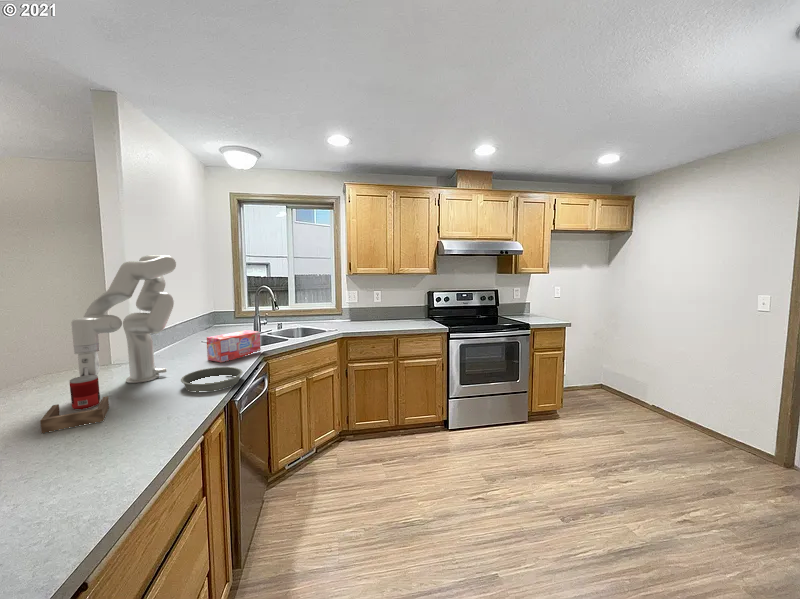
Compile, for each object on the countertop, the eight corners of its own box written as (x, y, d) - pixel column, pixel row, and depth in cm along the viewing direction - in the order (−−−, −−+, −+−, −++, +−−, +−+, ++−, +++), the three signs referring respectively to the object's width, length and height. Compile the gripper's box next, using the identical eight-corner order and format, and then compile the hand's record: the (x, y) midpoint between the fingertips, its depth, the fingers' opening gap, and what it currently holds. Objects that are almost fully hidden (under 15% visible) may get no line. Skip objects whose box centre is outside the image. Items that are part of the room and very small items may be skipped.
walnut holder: (109, 407, 128) (108, 396, 128) (103, 421, 117) (102, 409, 116) (54, 417, 120) (52, 405, 119) (41, 433, 108) (40, 420, 108)
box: (247, 350, 215) (246, 328, 213) (261, 352, 209) (260, 330, 207) (206, 360, 191) (205, 336, 190) (220, 363, 185) (219, 339, 184)
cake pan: (236, 391, 145) (236, 381, 145) (171, 396, 139) (171, 386, 139) (247, 373, 169) (247, 364, 168) (192, 377, 163) (192, 368, 163)
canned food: (105, 403, 132) (102, 375, 131) (80, 411, 125) (77, 382, 124) (92, 400, 135) (89, 373, 134) (67, 408, 127) (64, 380, 126)
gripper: (95, 351, 132) (99, 396, 134) (102, 343, 144) (105, 385, 146) (69, 353, 128) (74, 400, 129) (78, 345, 140) (82, 388, 142)
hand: (90, 392), depth 138 cm, fingers closed
